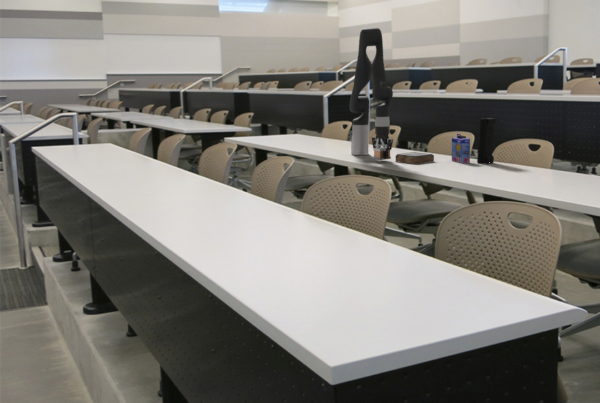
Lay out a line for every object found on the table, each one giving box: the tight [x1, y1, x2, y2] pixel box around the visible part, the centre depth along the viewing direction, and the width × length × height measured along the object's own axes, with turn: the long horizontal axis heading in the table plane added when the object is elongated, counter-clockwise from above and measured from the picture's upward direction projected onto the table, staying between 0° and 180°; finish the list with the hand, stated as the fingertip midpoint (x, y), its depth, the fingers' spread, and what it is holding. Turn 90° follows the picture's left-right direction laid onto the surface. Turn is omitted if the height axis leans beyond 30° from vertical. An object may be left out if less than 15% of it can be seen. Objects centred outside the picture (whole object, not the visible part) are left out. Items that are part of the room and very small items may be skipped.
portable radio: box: [476, 113, 496, 164], centre depth 324 cm, size 8×6×25 cm
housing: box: [372, 146, 392, 161], centre depth 338 cm, size 5×8×6 cm, turn 127°
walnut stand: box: [395, 151, 435, 165], centre depth 336 cm, size 14×14×4 cm
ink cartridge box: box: [451, 133, 471, 164], centre depth 331 cm, size 10×6×14 cm, turn 17°
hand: (382, 157), depth 339 cm, fingers closed on housing, 5 cm apart
